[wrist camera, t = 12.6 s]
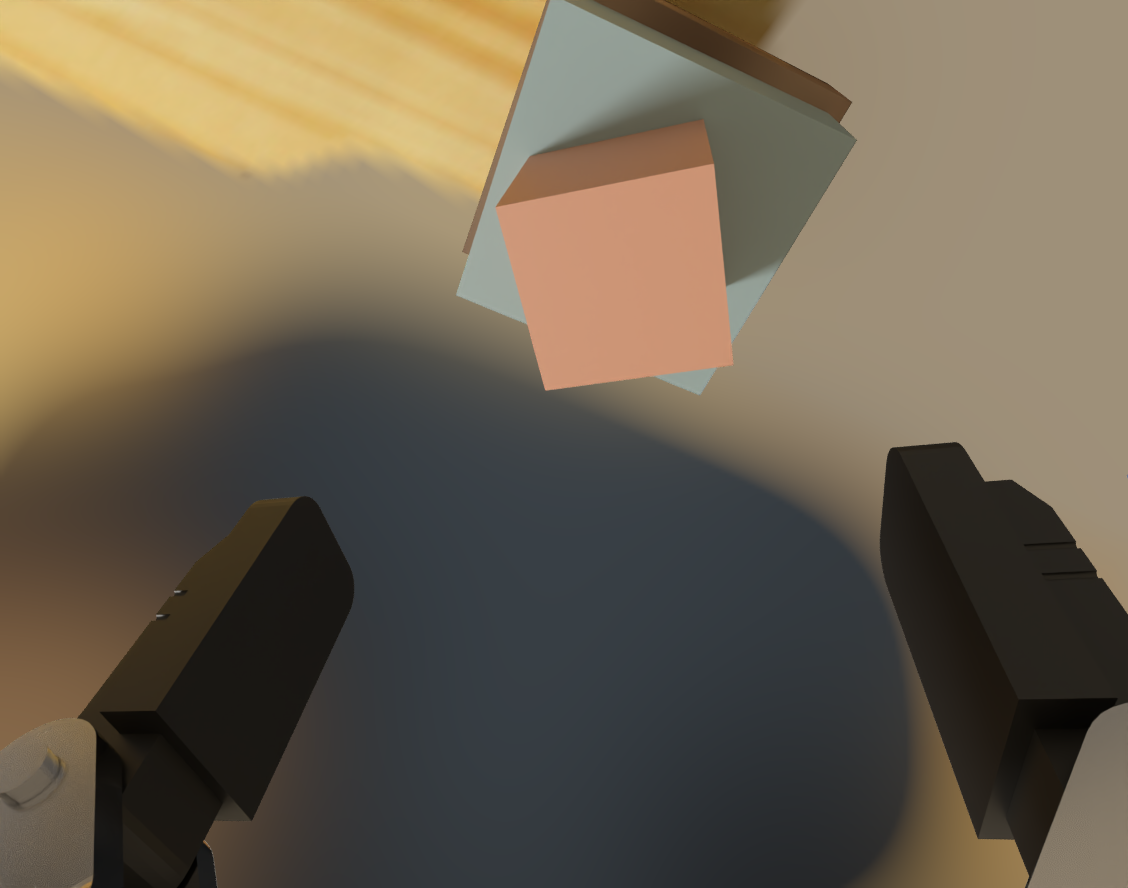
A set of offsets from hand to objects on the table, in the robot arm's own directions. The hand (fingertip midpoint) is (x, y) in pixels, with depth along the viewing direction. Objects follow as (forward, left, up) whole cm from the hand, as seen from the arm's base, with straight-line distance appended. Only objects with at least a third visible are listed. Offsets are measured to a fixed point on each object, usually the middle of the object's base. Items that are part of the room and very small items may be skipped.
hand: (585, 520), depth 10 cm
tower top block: (0, 0, -18) cm, 18 cm away
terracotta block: (0, 0, -14) cm, 14 cm away
